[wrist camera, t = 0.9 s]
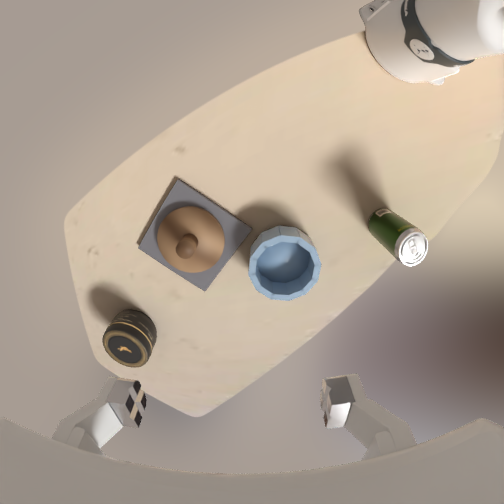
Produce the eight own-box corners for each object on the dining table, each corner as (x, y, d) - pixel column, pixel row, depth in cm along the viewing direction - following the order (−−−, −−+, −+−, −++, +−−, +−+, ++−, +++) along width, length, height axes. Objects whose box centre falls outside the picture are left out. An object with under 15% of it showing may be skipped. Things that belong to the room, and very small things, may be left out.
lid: (180, 192, 43) (171, 199, 38) (238, 231, 45) (236, 242, 41) (148, 246, 46) (138, 257, 42) (202, 280, 49) (197, 295, 44)
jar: (107, 312, 53) (92, 334, 46) (143, 301, 52) (129, 324, 44) (132, 347, 57) (120, 371, 50) (167, 339, 55) (158, 364, 48)
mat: (178, 178, 42) (177, 179, 42) (251, 228, 46) (251, 229, 45) (139, 246, 47) (138, 248, 46) (205, 289, 50) (205, 291, 49)
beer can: (362, 216, 44) (392, 242, 33) (388, 201, 43) (424, 223, 32) (373, 242, 46) (403, 274, 35) (398, 228, 45) (433, 255, 34)
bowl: (276, 212, 44) (278, 221, 40) (327, 249, 47) (334, 262, 42) (237, 262, 48) (235, 276, 43) (287, 295, 50) (290, 311, 46)
